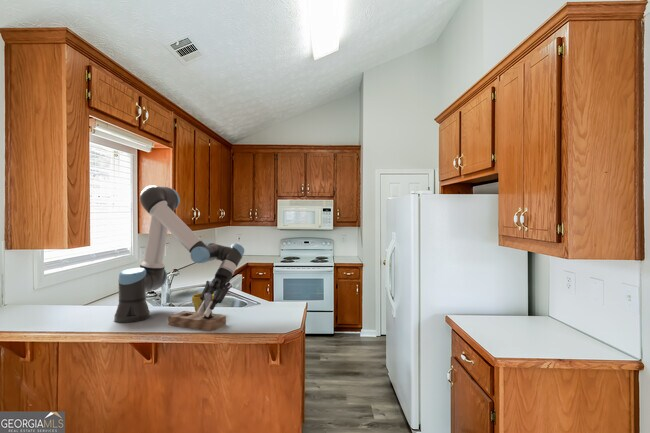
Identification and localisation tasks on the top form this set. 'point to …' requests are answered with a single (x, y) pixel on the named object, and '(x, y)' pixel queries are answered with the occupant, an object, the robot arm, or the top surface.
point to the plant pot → (198, 301)
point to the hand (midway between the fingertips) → (202, 315)
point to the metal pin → (206, 302)
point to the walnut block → (196, 321)
